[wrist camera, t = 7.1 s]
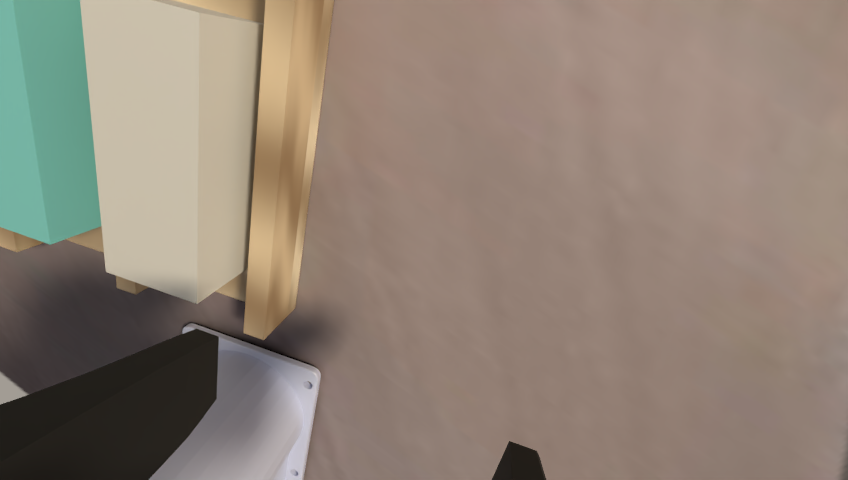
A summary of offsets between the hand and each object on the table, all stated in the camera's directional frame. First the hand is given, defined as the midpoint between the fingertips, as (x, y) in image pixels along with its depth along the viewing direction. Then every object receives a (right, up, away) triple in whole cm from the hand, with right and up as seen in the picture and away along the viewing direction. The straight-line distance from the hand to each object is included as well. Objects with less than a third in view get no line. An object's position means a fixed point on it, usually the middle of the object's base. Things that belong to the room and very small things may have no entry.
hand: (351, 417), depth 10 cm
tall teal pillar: (-13, +10, +8) cm, 19 cm away
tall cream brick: (-7, +8, +8) cm, 13 cm away
